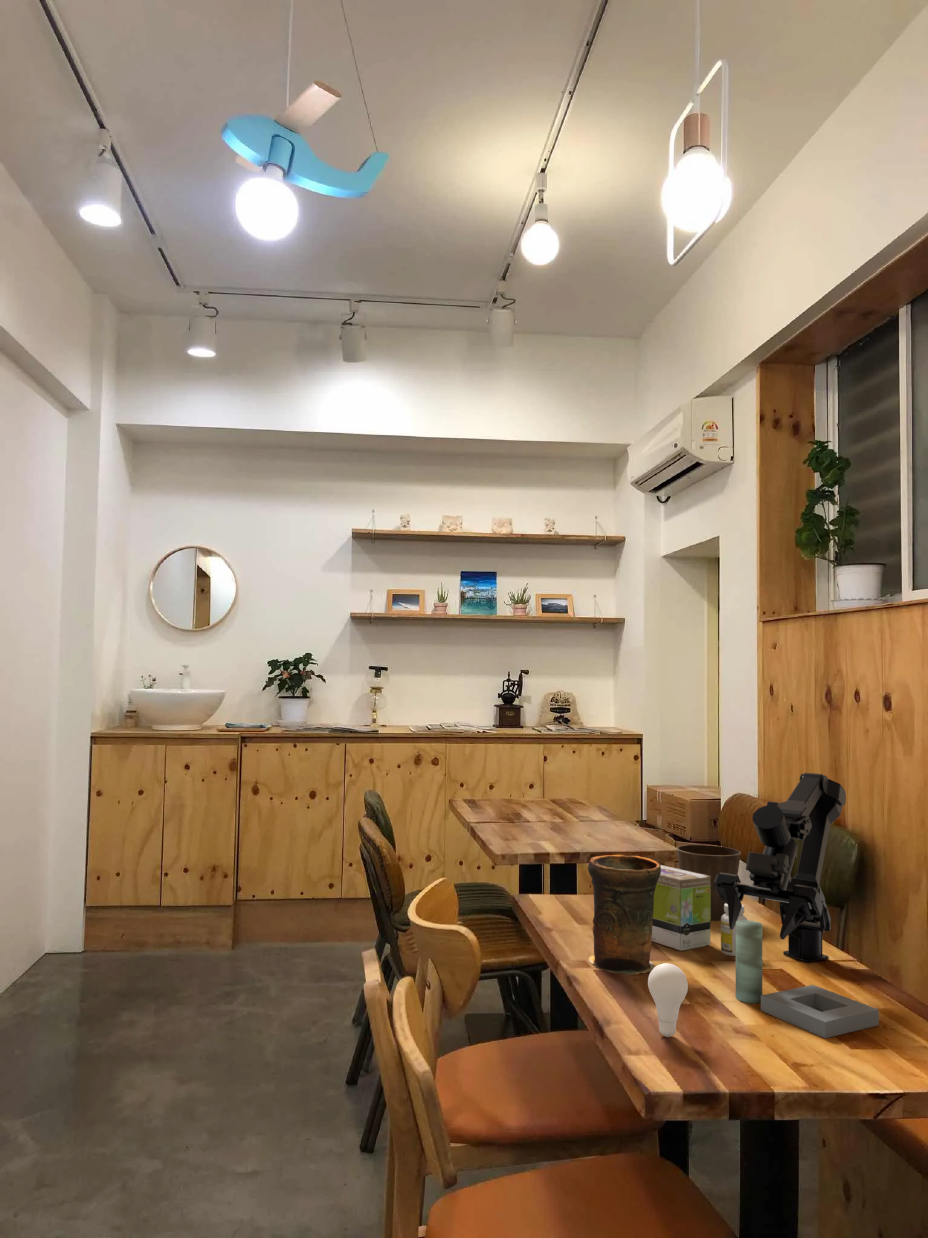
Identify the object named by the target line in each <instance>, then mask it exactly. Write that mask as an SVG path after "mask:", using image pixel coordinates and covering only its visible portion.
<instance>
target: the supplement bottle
mask: <svg viewBox="0 0 928 1238" xmlns="http://www.w3.org/2000/svg"><path fill="white" fill-rule="evenodd" d="M724 911H725V914H723V915H722V916H721V920H720V951H721V953H722V954H724V955H726V956H730V957H736V925H735V927H734V928H733V930H731V929H730V927H729V914H728V904H724ZM744 914H745V905H743V904H742V908H741V911H740V913H739V916H738V919H737V921H738V920H748V918H747V917H746V916H745V915H744Z"/></svg>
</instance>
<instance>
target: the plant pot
mask: <svg viewBox="0 0 928 1238" xmlns="http://www.w3.org/2000/svg"><path fill="white" fill-rule="evenodd" d="M676 852H677V854H676V855H677V861H678V867H679V868H678V869H681V870H686V871H690V872H695V873H699V874H704V875H708V876H711V922H718V921H720V922H721V916H722V915H723V914H725V911H724V904H726V902H725V901H724V900H722V899H721V898H720V895H719V893H718V891H717V889H716V886H715V884H714V881H715V878H716V875H717V874H718V873H728V874H734V875H738V874H739V869H740V861H741V854H742V853H741V851H740V850H738V849H736V848H732V847H727V846H720V845H711V844H683V845H679V846H677V847H676ZM738 876H739V875H738Z"/></svg>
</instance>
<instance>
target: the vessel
mask: <svg viewBox="0 0 928 1238" xmlns="http://www.w3.org/2000/svg"><path fill="white" fill-rule="evenodd" d="M660 865H661V864H660V863H659V862H658V861H655V860H654V859H651V858H648V857H642V856H639V855H624V854H611V855H609V854H608V855H607V854H606V855H599V856H593V857H591V858H590V860H589V861H588V865H587V870H588V873H589V876H590V878H591V884H592V887H593V911H594V912H593V919H592V924H593V926H592V935H593V955H590V957H588V962H589V963H590V964H591V965H593V966H595V968H596V969H599V970H601V971H606V972H608V973H610V974H623V975H626V976H627V975H628V976H635V975H639V974H647V973H651V971H652V970H653V969H654V968H655V967H656V966H654V963H653V962H652V961H651V960H650V959H651V951H652V950H651V949H652V941H651V938H652V925H653V912H654V892H655V888H656V884H657V881H658V879H659V876H660V874H661V866H660Z"/></svg>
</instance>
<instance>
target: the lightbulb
mask: <svg viewBox="0 0 928 1238" xmlns="http://www.w3.org/2000/svg"><path fill="white" fill-rule="evenodd" d="M654 967H655V968H654V969H653V970H652V971H651V972H649V975H648V978H647V986H648V990H649V992H650V995H651V997H652V999H653V1001H654V1004H655V1008H656V1017H657V1019H658V1030H659V1031H658V1032H659V1033H661V1034H662V1035H663V1036H664V1037H666V1038H670V1037H672V1036H674V1035H675V1034H676V1030H677V1021H678V1019H679V1013H680V1012H679V1011H680V1008H681V1005H682V1003H683V1002H684V1000H685V998H686V996H687V993H688V991H689V983H688V979H687V976H686V974H685V973H684V972H683V970H682V969H681V968H680V967H679V966H677V965H675V964H672V963H667V962H666V963H661V964H658V965H656V966H654Z"/></svg>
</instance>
